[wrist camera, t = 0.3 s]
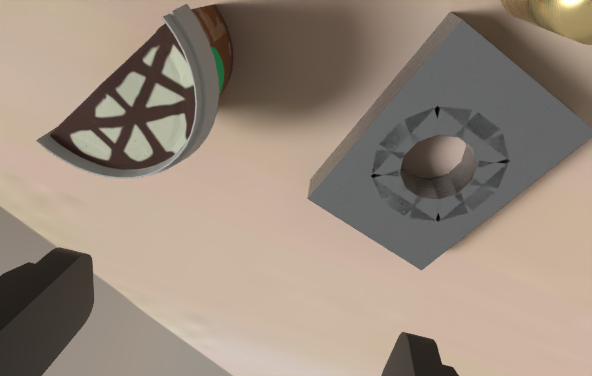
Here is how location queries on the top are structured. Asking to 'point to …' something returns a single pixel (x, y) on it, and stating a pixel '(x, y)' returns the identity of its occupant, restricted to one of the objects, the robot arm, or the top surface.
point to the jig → (448, 122)
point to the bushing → (556, 16)
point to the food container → (151, 101)
